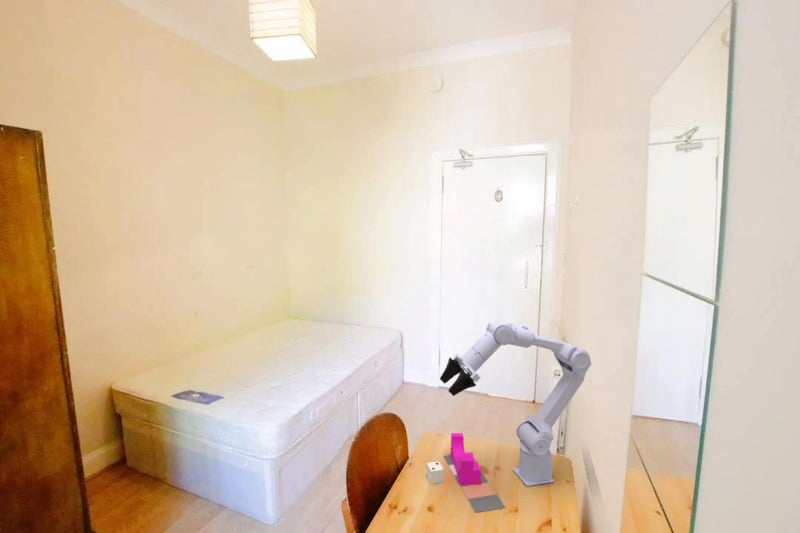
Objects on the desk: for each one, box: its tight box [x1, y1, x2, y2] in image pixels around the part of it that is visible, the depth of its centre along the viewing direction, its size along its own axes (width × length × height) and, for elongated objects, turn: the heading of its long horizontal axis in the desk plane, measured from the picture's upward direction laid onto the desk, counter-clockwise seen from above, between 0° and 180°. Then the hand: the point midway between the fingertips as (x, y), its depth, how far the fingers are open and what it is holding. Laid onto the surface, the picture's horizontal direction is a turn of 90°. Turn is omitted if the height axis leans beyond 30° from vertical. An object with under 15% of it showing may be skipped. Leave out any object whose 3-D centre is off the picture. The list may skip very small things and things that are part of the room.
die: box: [426, 461, 445, 485], centre depth 106 cm, size 4×4×4 cm
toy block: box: [450, 432, 482, 486], centre depth 111 cm, size 15×6×8 cm, turn 3°
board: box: [443, 454, 506, 514], centre depth 106 cm, size 9×25×1 cm, turn 13°
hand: (446, 387), depth 101 cm, fingers open, 7 cm apart
